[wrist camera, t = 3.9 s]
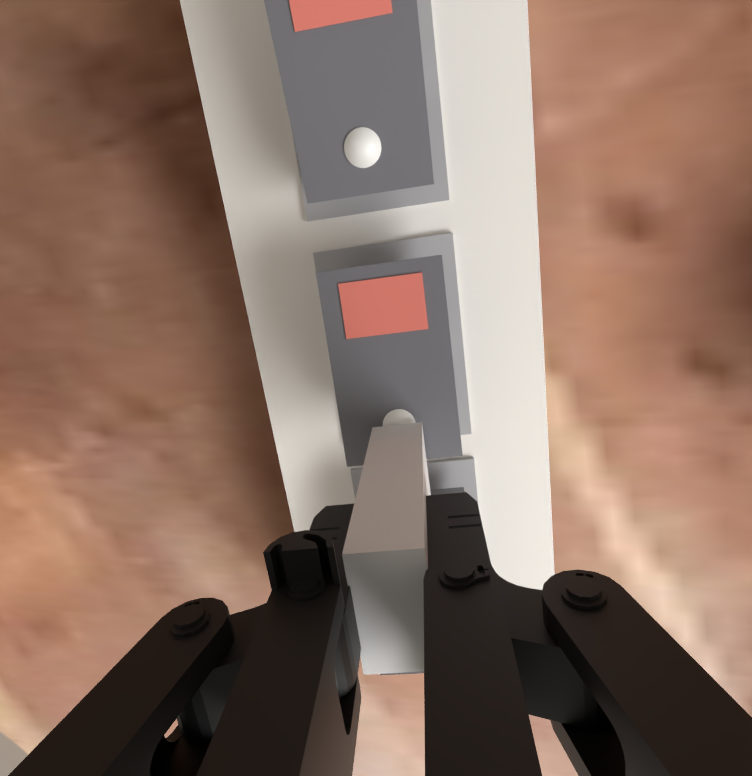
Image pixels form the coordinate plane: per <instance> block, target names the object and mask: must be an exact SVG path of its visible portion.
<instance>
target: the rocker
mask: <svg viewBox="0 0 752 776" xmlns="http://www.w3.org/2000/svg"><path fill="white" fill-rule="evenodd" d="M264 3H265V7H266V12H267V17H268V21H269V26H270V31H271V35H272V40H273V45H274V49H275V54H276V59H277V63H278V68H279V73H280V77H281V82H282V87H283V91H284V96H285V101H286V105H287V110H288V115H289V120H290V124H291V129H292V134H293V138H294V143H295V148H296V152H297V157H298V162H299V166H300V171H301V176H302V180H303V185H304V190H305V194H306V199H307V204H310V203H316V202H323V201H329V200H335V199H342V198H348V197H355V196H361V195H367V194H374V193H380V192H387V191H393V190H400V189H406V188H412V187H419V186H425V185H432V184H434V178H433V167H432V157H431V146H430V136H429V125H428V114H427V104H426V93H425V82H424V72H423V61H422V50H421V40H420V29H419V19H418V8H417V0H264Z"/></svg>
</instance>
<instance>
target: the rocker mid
mask: <svg viewBox="0 0 752 776" xmlns="http://www.w3.org/2000/svg"><path fill="white" fill-rule="evenodd" d="M316 277H317V284H318V290H319V296H320V302H321V309H322V315H323V321H324V327H325V333H326V340H327V346H328V352H329V358H330V365H331V371H332V377H333V383H334V389H335V396H336V402H337V408H338V414H339V421H340V427H341V433H342V439H343V445H344V452H345V458H346V464H347V467H351V466H362V465H364V461H365V456H366V452H367V448H368V444H369V440H370V435H371V431H372V427H381V426H390V425H400V424H409V423H419V422H422V427H423V435H424V443H425V451H426V459H436V458H446V457H457V456H463V454H462V445H461V435H460V425H459V416H458V406H457V396H456V386H455V377H454V367H453V357H452V348H451V338H450V328H449V319H448V309H447V299H446V290H445V280H444V270H443V261H442V255H434V256H427V257H420V258H413V259H406V260H399V261H391V262H384V263H377V264H370V265H363V266H356V267H349V268H341V269H334V270H327V271H321V272H316Z"/></svg>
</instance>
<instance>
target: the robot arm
mask: <svg viewBox="0 0 752 776" xmlns="http://www.w3.org/2000/svg"><path fill="white" fill-rule="evenodd" d="M263 553H264V558H265V562H266V566H267V571H268V575H269V580H270V584H271V588H272V592H271V594H270V596H269V599H268V601H267V603H265V604H263V605H260V606H258V607H255V608H252V609H249V610H245V611H242V612H238V613H235V614H232V615H229V611H228V607H227V606H226V605H225V603H224V602H223V601H221V600H218V599H215V598H199V599H195V600H191V601H188V602H185V603H184V604H182V605H180V606H178V607H176V608H174V609H172V610H171V611H170V612H168V613H167V614H166V615H165V616H163V617H162V618H161V619H160V620H159V621H158V622H157V623H156V624H155V625H154V626H153V627H152V628H151V629H150V630H149V631H148V632H147V633H146V634H145V635H144V636H143V638H142V639H141V640H140V641H139V642H138V643H137V644H136V645H135V646H134V647H133V648H132V649H131V650H130V651H129V652H128V653H127V654H126V655H125V656H124V657H123V658H122V659H121V660H120V661H119V662H118V663H117V664H116V665H115V666H114V667H113V668H112V669H111V670H110V671H109V672H108V674H107V675H106V676H105V677H104V678H103V679H102V680H101V681H100V682H99V683H98V684H97V685H96V686H95V687H94V688H93V689H92V690H91V691H90V692H89V693H88V694H87V695H86V696H85V697H84V698H83V699H82V700H81V701H80V702H79V703H78V704H77V705H76V706H75V707H74V709H73V710H72V711H71V712H70V713H69V714H68V715H67V716H66V717H65V718H64V719H63V720H62V721H61V722H60V723H59V724H58V725H57V726H56V727H55V728H54V729H53V730H52V731H51V732H50V733H49V734H48V735H47V736H46V737H45V738H44V739H43V740H42V741H41V742H40V743H39V745H38V746H37V747H36V748H35V749H34V750H33V751H32V752H31V753H30V754H29V755H28V756H27V757H26V758H25V759H24V760H23V761H22V762H21V763H20V764H19V765H18V766H17V767H16V768H15V769H14V770H13V772H11V773H10V774H9V775H8V776H352V771H353V762H354V754H355V745H356V737H357V729H358V720H359V712H360V704H361V692H360V685H359V679H358V667H359V660H360V657H361V662H362V668H363V673H364V675H366V674H386V673H406V672H424V695H425V776H542V773H541V769H540V764H539V760H538V756H537V751H536V747H535V742H534V738H533V733H532V729H531V724H530V720H529V716H528V714H530V715H533V716H537V717H541V718H545V719H549V720H551V724H552V727H553V730H554V732H555V733H556V735H557V737H558V739H559V741H560V743H561V744H562V746H563V748H564V750H565V752H566V753H567V755H568V757H569V759H570V761H571V762H572V764H573V766H574V768H575V770H576V772H577V773H578V775H579V776H752V717H751V716H750V715H749V714H748V713H747V712H746V711H745V710H744V709H743V708H742V707H741V706H740V705H739V704H738V703H737V702H736V701H735V700H734V699H733V698H732V697H731V696H730V695H729V694H728V693H727V692H726V691H725V690H724V689H723V688H722V687H721V686H720V685H719V684H718V683H717V682H716V681H715V680H714V679H713V678H712V677H711V676H710V675H709V674H708V673H707V672H706V671H705V670H704V669H703V668H702V667H701V666H700V665H699V664H698V663H697V662H696V661H695V660H694V659H693V658H692V657H691V656H690V655H689V654H688V653H687V652H686V651H685V650H684V649H683V648H682V647H681V646H680V645H679V644H678V643H677V642H676V641H675V640H674V639H673V638H672V637H671V636H670V635H669V634H668V633H667V632H666V631H665V630H664V629H663V628H662V627H661V626H660V625H659V624H658V623H657V622H656V621H655V620H654V619H653V618H652V617H651V616H650V615H649V614H648V613H647V612H646V611H645V610H644V609H643V608H642V606H641V605H640V604H639V603H638V602H637V601H636V600H635V599H634V598H633V597H632V596H631V595H630V594H629V593H628V592H627V591H626V590H625V589H624V588H623V587H622V586H621V585H619V584H618V583H616V582H615V581H614V580H612V579H611V578H609V577H607V576H604V575H601V574H599V573H596V572H592V571H584V570H570V571H563V572H560V573H558V574H555V575H553V576H551V577H550V578H549V579H548V580H547V581H546V582H545V583H544V585H543V589H542V590H539V589H532V588H527V587H522V586H518V585H515V584H513V583H510V582H508V581H506V580H505V579H503V578H502V577H500V576H499V575H498V574H497V573H496V572H495V570H494V568H493V567H492V565H491V562H490V557H489V553H488V548H487V544H486V539H485V534H484V530H483V526H482V521H481V516H480V512H479V507H478V503H477V501H476V500H475V499H474V498H473V497H471V496H470V495H469V494H468V493H467V492H461V493H450V494H439V495H431V492H430V484H429V476H428V468H427V459H426V451H425V443H424V435H423V427H422V422H419V423H409V424H400V425H390V426H381V427H372V431H371V435H370V440H369V444H368V448H367V452H366V456H365V461H364V465H363V469H362V473H361V477H360V481H359V486H358V490H357V494H356V498H355V502H354V504H343V505H332V506H325V507H324V508H323V509H322V510H321V511H320V512H319V513H318V514H317V515H316V516H315V517H314V519H313V521H312V524H311V527H310V529H309V530H304V531H298V532H293V533H290V534H288V535H285V536H283V537H280V538H279V539H277V540H276V541H274V542H273V543H271V544H270V545H269V546H268V547H267V549H266V550H265V551H264V552H263ZM176 718H177V721H178V726H177V727H176V729H175V730H174V731H173V733H171V734H170V735H169V736H168V737H167V738H165V736H164V734H165V733H166V732H167V730H168V729H169V728H170V726H171V725H172V724H173V722H174V721H175V720H176Z"/></svg>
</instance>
